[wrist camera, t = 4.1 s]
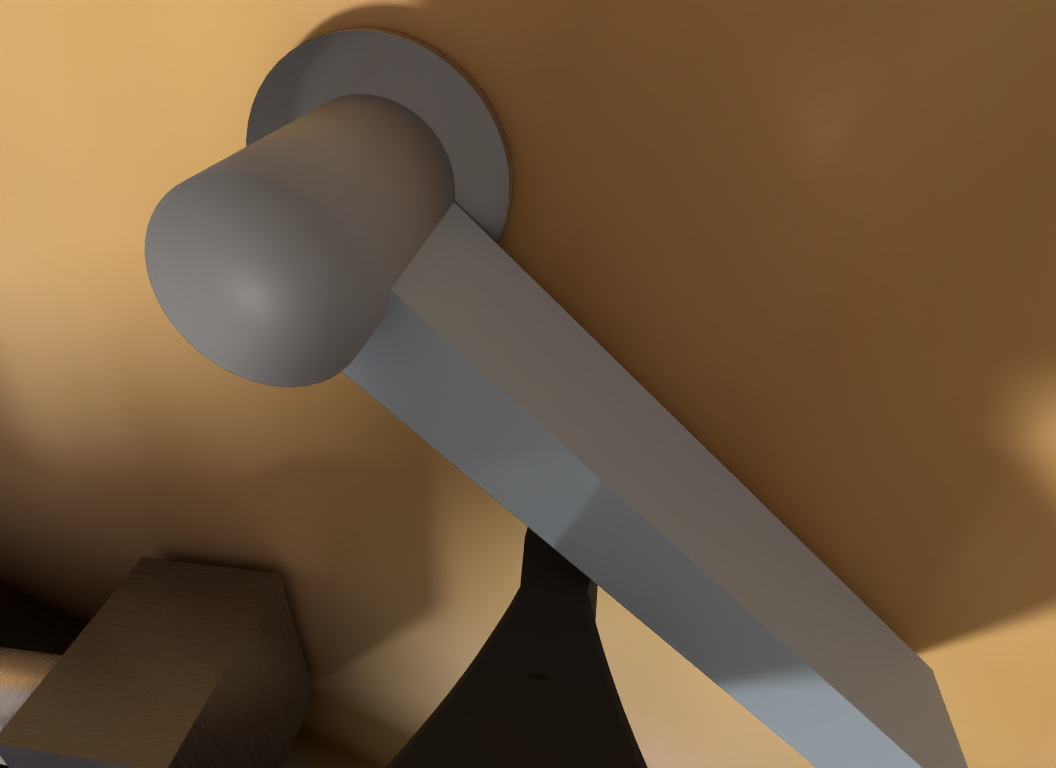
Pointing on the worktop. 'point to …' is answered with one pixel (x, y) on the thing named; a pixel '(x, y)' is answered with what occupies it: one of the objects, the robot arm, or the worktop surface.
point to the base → (413, 82)
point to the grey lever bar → (527, 416)
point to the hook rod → (164, 678)
